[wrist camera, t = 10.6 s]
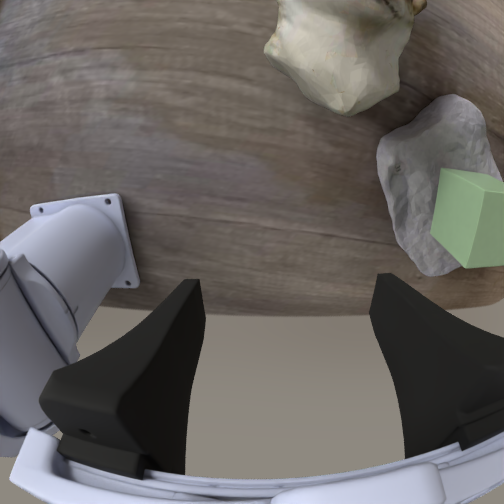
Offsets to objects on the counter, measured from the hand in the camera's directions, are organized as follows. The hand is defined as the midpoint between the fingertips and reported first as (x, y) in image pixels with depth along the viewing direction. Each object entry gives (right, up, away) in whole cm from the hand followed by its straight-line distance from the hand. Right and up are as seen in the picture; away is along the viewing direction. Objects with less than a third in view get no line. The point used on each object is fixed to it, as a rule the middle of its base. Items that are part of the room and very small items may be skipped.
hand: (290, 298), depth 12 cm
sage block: (+12, +5, +4) cm, 14 cm away
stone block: (+12, +7, +8) cm, 16 cm away
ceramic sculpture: (+4, +17, +2) cm, 18 cm away
